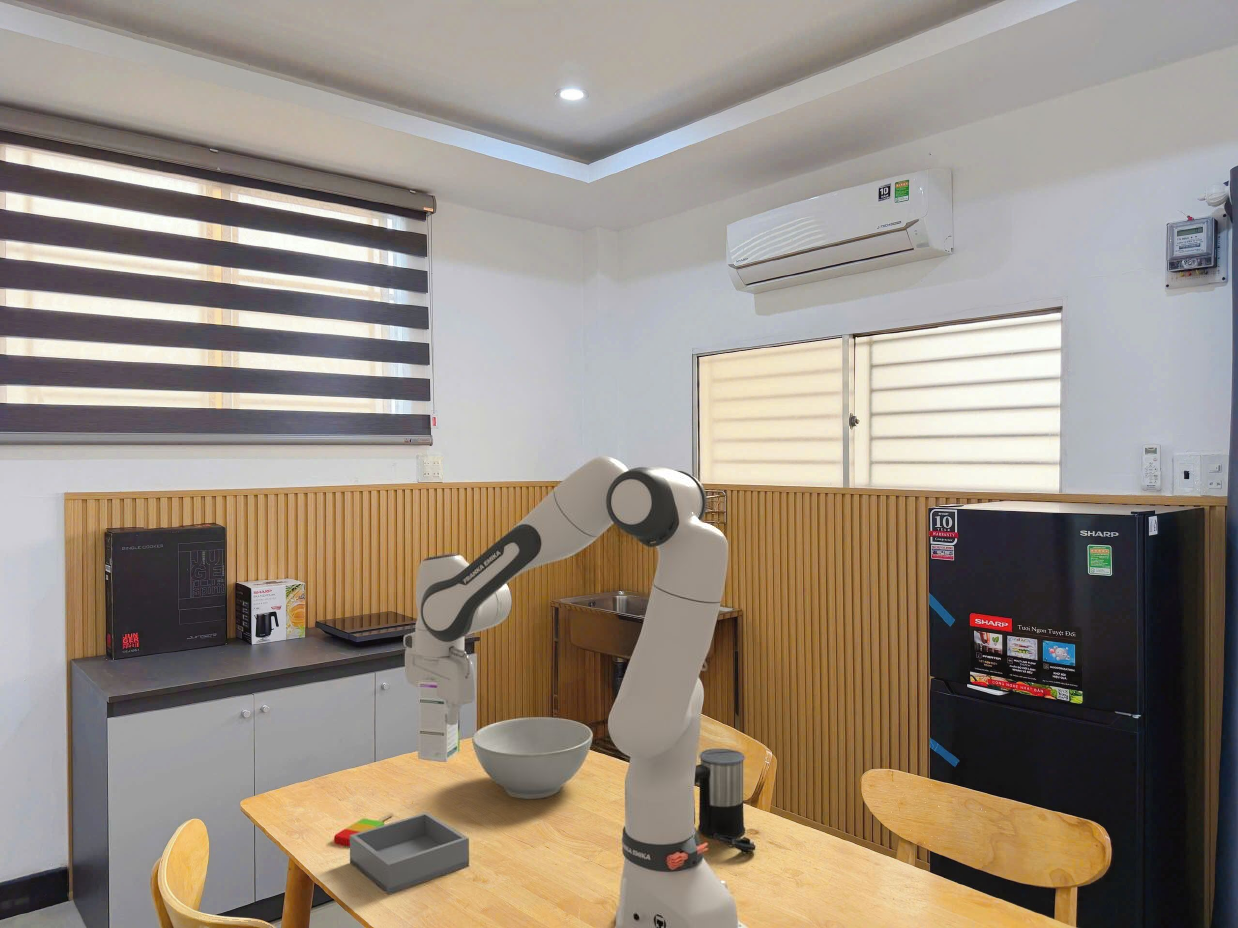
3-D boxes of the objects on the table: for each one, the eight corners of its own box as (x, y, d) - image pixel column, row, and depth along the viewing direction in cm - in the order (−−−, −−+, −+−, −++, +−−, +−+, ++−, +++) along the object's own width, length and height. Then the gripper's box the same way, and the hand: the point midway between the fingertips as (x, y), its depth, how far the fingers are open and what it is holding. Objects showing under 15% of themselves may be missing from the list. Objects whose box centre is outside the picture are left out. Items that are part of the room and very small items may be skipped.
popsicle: (331, 845, 165) (330, 835, 165) (381, 815, 179) (381, 806, 179) (354, 849, 163) (353, 840, 163) (403, 819, 176) (403, 810, 176)
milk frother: (717, 816, 176) (717, 744, 176) (783, 839, 165) (782, 762, 165) (673, 838, 166) (672, 761, 166) (739, 864, 155) (739, 782, 155)
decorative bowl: (485, 766, 206) (485, 716, 206) (596, 767, 205) (596, 717, 205) (460, 812, 179) (460, 754, 179) (588, 813, 178) (588, 754, 178)
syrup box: (446, 762, 153) (448, 682, 153) (416, 759, 155) (417, 679, 155) (459, 752, 159) (461, 674, 159) (430, 748, 160) (432, 671, 160)
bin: (469, 865, 155) (468, 837, 155) (388, 894, 145) (388, 864, 145) (427, 837, 167) (426, 812, 167) (350, 862, 156) (349, 835, 157)
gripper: (484, 650, 151) (483, 728, 151) (429, 631, 166) (428, 702, 166) (453, 655, 147) (452, 735, 147) (399, 635, 162) (398, 708, 162)
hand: (439, 717), depth 157 cm, fingers closed on syrup box, 7 cm apart
